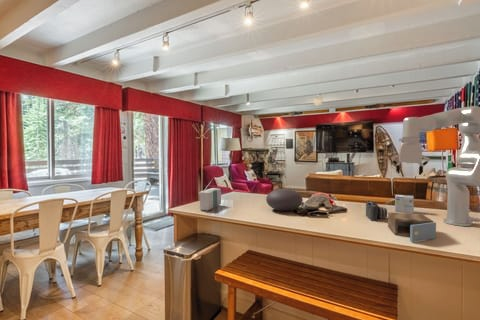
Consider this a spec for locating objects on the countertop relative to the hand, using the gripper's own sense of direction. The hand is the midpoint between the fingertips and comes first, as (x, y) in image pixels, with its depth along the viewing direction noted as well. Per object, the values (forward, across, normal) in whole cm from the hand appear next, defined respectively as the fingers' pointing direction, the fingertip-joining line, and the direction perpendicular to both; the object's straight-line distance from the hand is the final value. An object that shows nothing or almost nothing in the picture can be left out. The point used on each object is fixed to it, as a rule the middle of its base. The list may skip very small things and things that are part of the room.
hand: (409, 173), depth 139 cm
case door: (+29, +5, -18) cm, 35 cm away
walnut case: (+29, 0, -6) cm, 30 cm away
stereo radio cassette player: (+33, -122, -1) cm, 126 cm away
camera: (+30, -14, +17) cm, 37 cm away
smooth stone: (+31, -71, +14) cm, 79 cm away
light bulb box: (+28, +3, +44) cm, 52 cm away
